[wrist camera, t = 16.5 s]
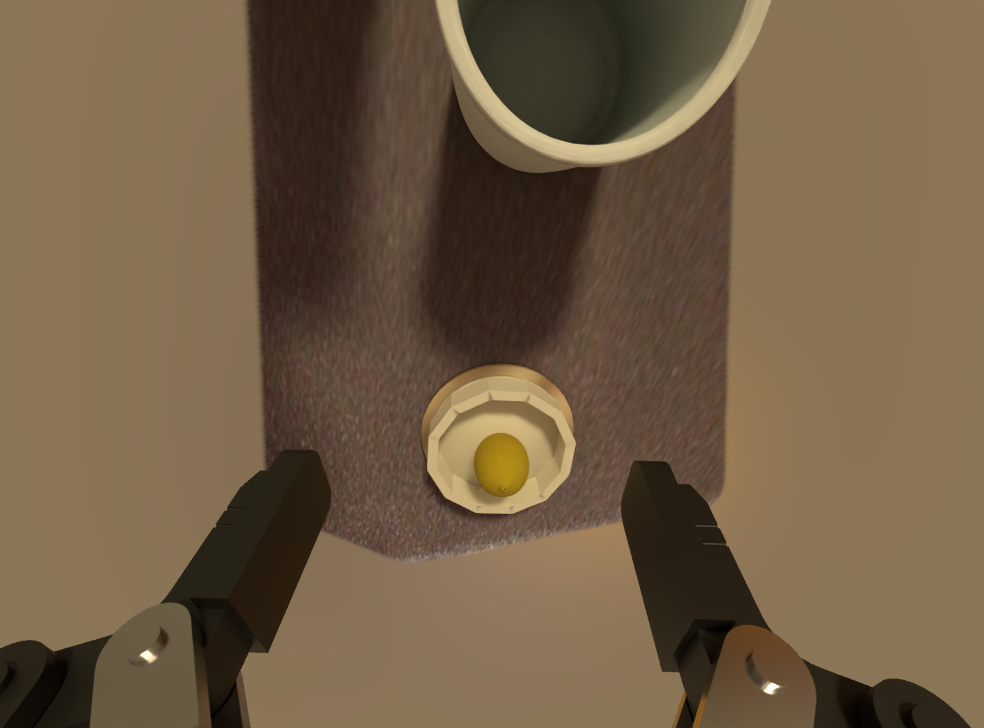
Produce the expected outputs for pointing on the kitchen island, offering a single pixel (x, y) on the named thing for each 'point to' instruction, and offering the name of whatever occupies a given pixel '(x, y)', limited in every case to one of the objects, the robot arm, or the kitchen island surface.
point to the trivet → (489, 371)
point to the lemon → (501, 465)
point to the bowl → (499, 411)
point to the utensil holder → (591, 73)
